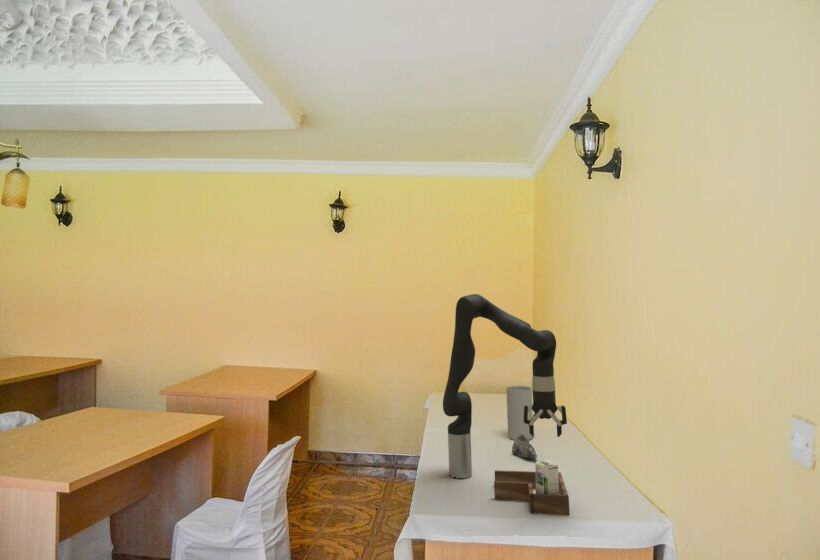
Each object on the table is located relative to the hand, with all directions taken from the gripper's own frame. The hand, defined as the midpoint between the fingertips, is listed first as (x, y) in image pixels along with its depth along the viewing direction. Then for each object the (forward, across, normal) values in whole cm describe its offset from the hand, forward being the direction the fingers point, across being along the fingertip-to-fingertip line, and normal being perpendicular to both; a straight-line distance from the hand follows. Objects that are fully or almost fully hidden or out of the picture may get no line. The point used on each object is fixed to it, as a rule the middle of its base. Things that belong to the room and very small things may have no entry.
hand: (545, 436), depth 171 cm
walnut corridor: (+24, +6, -5) cm, 25 cm away
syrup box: (+24, 0, 0) cm, 24 cm away
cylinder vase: (+24, +6, -83) cm, 87 cm away
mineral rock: (+24, +6, -52) cm, 57 cm away
